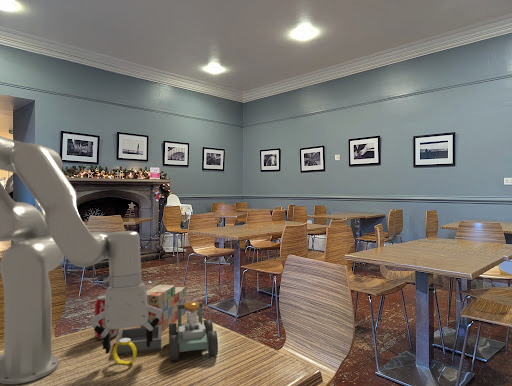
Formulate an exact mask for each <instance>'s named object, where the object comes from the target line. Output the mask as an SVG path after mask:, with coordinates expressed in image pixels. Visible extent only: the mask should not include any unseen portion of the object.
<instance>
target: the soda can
mask: <svg viewBox="0 0 512 386" xmlns="http://www.w3.org/2000/svg"><path fill="white" fill-rule="evenodd" d="M105 297H106V293H104V294H101V295H98V296H97V297H96V301H95V303H94V317H95V316H97V315H98V314H100V313H101V312H103V311H105ZM98 323H99V325H101V326H102V327H103V328H105V317H104V318H102V319H101V320H99V321H98ZM119 332H120V329H116V330H110V331H109V334H110V339H112V338H115V337H116V336H117V335H119ZM94 336H95V337H96V338H97V339H99V340H103V338H102V337H101V335H100V334H98V333H97V332H96V331H95V330H94Z"/></svg>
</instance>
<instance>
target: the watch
mask: <svg viewBox="0 0 512 386" xmlns="http://www.w3.org/2000/svg"><path fill="white" fill-rule="evenodd" d="M119 344H120V345H129V346H130V347H131V349H132V351H133V353H132V357H131V360H122V359H120V357H119V355H117V347H118V345H119ZM137 354H138V353H137V349H136V347H135V345H134V343H132V342H131V339H130V338H123V339H120V340H119V342H118V343H117V344H116V343H115V345H114V346H113V348H112V358H113V360H114V362H115V363H117V365H124V366H125V365H127V366H129V365H131V364H132V363H133V362H134V361H135V360H136V358H137V356H138V355H137Z"/></svg>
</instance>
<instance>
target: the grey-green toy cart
mask: <svg viewBox="0 0 512 386" xmlns="http://www.w3.org/2000/svg"><path fill="white" fill-rule="evenodd" d="M198 302H199V301H198ZM184 304H185V303H184ZM184 304H178V319H177V322H174V323H171V324H169V327H168V345H169V361H170V362H173V361H179V353H181V352H191V351H197V350H198V351H199V350H206V349H207V353H208V356H209V357H212V356H218V353H219V340H218V339H219V338H218V333H217V331H216V330H214V327H213V320H212V319H204V320H203V302H202V301H200V302H199V308H198V309H197V310H198V312H197V314H198V315H197V317H198V322H197V330H190V331H187V323H182V316H181V309H184Z"/></svg>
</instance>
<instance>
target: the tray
mask: <svg viewBox="0 0 512 386" xmlns="http://www.w3.org/2000/svg"><path fill="white" fill-rule="evenodd" d="M146 330H147V328H146V327H141V328H140V327H131V328H124V329H119V333H118V334H117V335H118V336H117V339H116V342H115V345H116V344H117V343H118V342H119V340H120V339H123V338H130V339H131V342H132V343H134V345H135V347H136V349H137V354H139V353H149V352H156V351H162V333H161V325H160V326H155V327H154V328H153V330H152V333H153V342H150V347H147V338H146ZM131 354H132V355H133V351H132V349H131V347H130V346H129V345H120V344H119V345H118V347H117V355H118V356H123V355H131Z"/></svg>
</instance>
